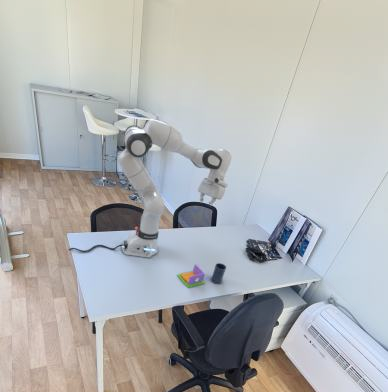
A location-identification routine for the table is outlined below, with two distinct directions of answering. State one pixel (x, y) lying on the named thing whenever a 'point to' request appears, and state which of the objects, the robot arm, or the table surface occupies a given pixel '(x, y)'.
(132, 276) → the table surface
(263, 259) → the cable
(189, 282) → the dollhouse room
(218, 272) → the pen cup
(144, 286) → the table surface
